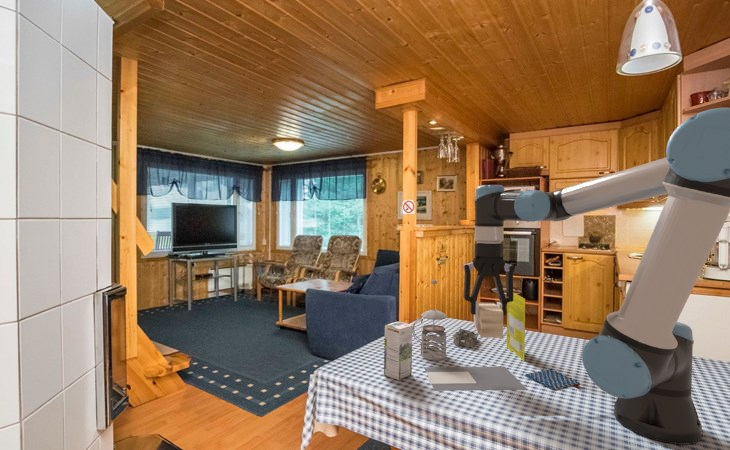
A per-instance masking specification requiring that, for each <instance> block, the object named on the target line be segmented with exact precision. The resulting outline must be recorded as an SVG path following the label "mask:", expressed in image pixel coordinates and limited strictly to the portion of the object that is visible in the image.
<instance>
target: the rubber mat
mask: <svg viewBox="0 0 730 450" xmlns="http://www.w3.org/2000/svg"><path fill="white" fill-rule="evenodd" d="M423 368H424V371H425V373H426V374H427V377H428V379H429V382H430V384H431V386H432V388H433V390H434V391H436V392H437V391H440V392H442V391H447V392H448V391H450V392H451V391H513V390H514V391H521V390H522V391H526V390H527V391H528V387H526V386H525V385H524V384H523V383H522V382H521V381H520V380H519V379H518V378H517V377H516V376H515V375H514V374H513V373H512V372H511V371H510V370H509V369H508V368H507V367H506V366H433V367H431V366H425V367H423Z"/></svg>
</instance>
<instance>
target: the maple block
mask: <svg viewBox="0 0 730 450" xmlns="http://www.w3.org/2000/svg"><path fill="white" fill-rule="evenodd" d="M477 302H478V303H479V328H476V327H475V326H474V325H473V328H474V329H475V331H476V333H478V336H480V338H492V339H493V338H497V339H504V315H503V311H502V310H501V309H500V308H499V307H498V306H497V303H495V302H486V301H485V302H482V301H480V302H479V301H477Z"/></svg>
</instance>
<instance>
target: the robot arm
mask: <svg viewBox="0 0 730 450" xmlns="http://www.w3.org/2000/svg"><path fill="white" fill-rule="evenodd" d="M665 155H666V156H665V157H663V158H659V159H657V160H653V161H649V162H647V163H643V164H640V165H637V166H636V165H635V166H633V167H630V168H626V169H622V170H619V171H617V172H612V173H610V174H606V175H603V176H600V177H596V178H593V179H590V180H587V181H583V182H581V183H577V184H574V185H573V184H572V185H571V186H567V187H564V188H561V189H557V190H554V191H550V192H546V191H544V190H538V189H537V190H535V189H526V190H518V191H505V187H504V185H501V184H484V185H483V184H482V185H478V186H477V187H476V188H475V197H474V240H475V241H476V242H475V243H474V248H473V251H474V254H473V255H474V256H473V257H474V258H473V259H472V262H470V263H463V265H462V267H463V270H464V271H463V272H464V283H463V295H462V296H463V299H464V300H465V301H466V302H467V301H468V302H469V305H470V306H469V311H470V314H471V315H473V327H474V326H475V327H476V328H479V303H478V302H479V301H478V297H479V293H480V290H481V288H482V285H483V280H484V278H485V277H492V278H493V281H494V284H495V288H496V289H495V290H496V292H497V296H498V299H499V301H496V305H497V306H498V307H499V308H500V309H501V310H502V311H503V316H507V303H508V302H512V301H513V293H514V272H515V269H516V266H515V265H513V264H511V263H506V262H505V260H504V243H502V242H504V240H505V239H504V225H505V221H512V222H514V221H515V222H527V223H529V222H541V221H542V222H543V221H545V222H546V221H548V222H561V221H565V220H568V219H571V217H574V216H579V215H582V214H588V213H591V212H595V211H601V210H604V209H609V208H613V207H618V206H622V205H627V204H630V203H634V202H639V201H644V200H649V199H652V198H657V197H661V196H665V195H667V197H666V200H665V203H664V205H663V207H662V210H661V212H660V214H659V216H658V220H657V221H656V224H655V226H654V229H653V231H652V234H651V236H650V238H649V240H648V242H647V244H646V247H645V249H644V252H643V254H642V256H641V259H640V261H639V264H638V266H637V268H636V270H635V273H634V275H633V278H632V280H631V283H630V285H629V286H628V289H627V291H626V294H625V297H624V299H623V301H622V303H621V306H620V307H619V310H616V311H613V312H610V313H608V314H607V315H606V318H605V320H604V322H603V325H601V326H602V327H601V329H600V331H599V334H598V335H597V336H593V337H591V338H590V339H589V340H588V341H587V342H586V343H585V345H584V346H583V349H582V352H581V359H582V365H583V368H584V370H586V372H587V375H588V377H589V379H590V380H591V381H592V382H593V384H595V385H596V386H597V388H599V389H601V390H602V391H603V392H604V393H605V394H606V393H607V394H608V395H610V396H613V397H616V400H615V401H614V406H613V413H614V414H613V416H614V418H615V419H616V420H617V421H618V422H619V424H621V425H623V426H624V427H625V428H626V429H629V430H630V431H633V432H634V433H637V434H639V435H641V436H643V437H647V438H650V439H653V440H657V441H660V442H665V443H670V444H676V445H691V444H696V443H698V442H700V441H701V440H702V438H703V437H702V436H703V428H702V427H703V426H702V423H701V420H700V419H699V415H698V412H697V409H696V406H695V403H694V401H693V398H692V383H693V381H692V378H693V350H694V349H693V346H694V343H695V342H694V341H695V340H694V338H693V329H692V328H691V326H689V325H688V324H685V323H684V322H683V323H682V322H679V321H678V320H679V318H680V316H681V314H682V313H683V310H684V308H685V307H686V304H687V301H688V299H689V298H690V295H691V293H692V291H693V289H694V287H695V285H696V283H697V281H698V279H699V277H700V275H701V272H702V271H703V268H704V266H705V264H706V262H707V260H708V258H709V256H710V255H711V252H712V250H713V248H714V245H715V244H716V241H717V239H718V237H719V235H720V233H721V231H722V229H723V227H724V225H725V223H726V221H727V218H728V217H729V215H730V107H717V108H709V109H707V110H703V111H700V112H698V113H696V114H694V115H692V116H690V117H688V118H687V119H685V120H684V121H683V122H681V123H680V124H679V125H678V126H677V127H676V128H675V129H674V131H673V132H672V133H671V135H670V137H669V138H668V140H667V143H666V148H665ZM473 268H475V270H476V271H477V274H476V279H475V281H474V285H473V287H472V291H471V278H472V277H471V275H472V274H471V272H472V271H473ZM503 269H504V271H505V291H506V293H505V291H504V287H503V284H502V279H501V275H500V272H501V271H502V270H503ZM475 327H474V328H475Z"/></svg>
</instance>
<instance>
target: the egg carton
mask: <svg viewBox="0 0 730 450" xmlns="http://www.w3.org/2000/svg"><path fill="white" fill-rule="evenodd" d="M478 337H479V333H478V332H474V331H473V330H471V331H470V330H467V329H463V328H461V327H460V328H459V329H458V331H456V332H455V333H454V334H452V339H453V345H456V347H460V346H462V347H463V346H464V347H465V348H473V347H474V345H476V342H478Z"/></svg>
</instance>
